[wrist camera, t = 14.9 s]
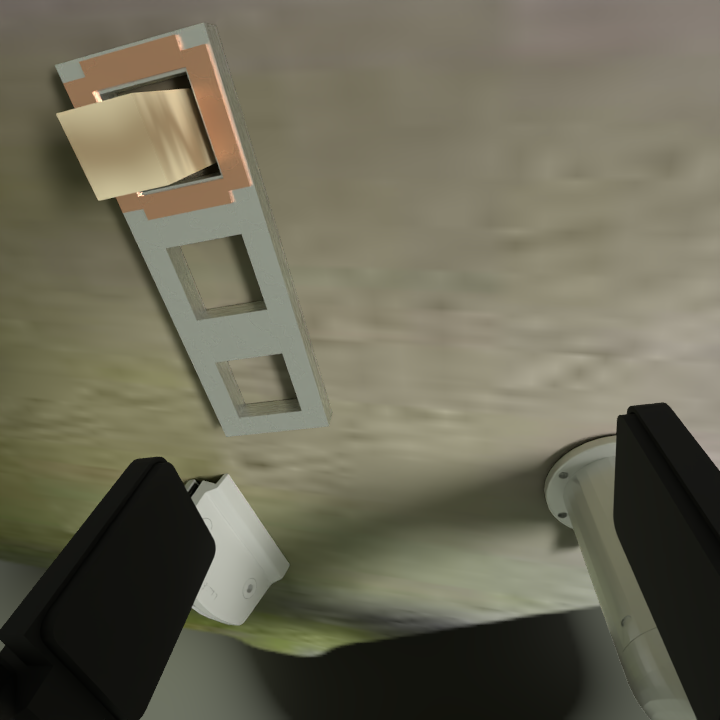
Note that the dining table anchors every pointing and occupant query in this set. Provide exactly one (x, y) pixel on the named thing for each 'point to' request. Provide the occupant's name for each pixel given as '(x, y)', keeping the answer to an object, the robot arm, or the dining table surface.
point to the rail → (212, 232)
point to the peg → (138, 141)
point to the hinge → (234, 553)
